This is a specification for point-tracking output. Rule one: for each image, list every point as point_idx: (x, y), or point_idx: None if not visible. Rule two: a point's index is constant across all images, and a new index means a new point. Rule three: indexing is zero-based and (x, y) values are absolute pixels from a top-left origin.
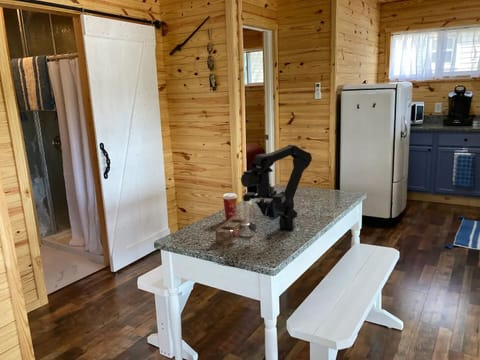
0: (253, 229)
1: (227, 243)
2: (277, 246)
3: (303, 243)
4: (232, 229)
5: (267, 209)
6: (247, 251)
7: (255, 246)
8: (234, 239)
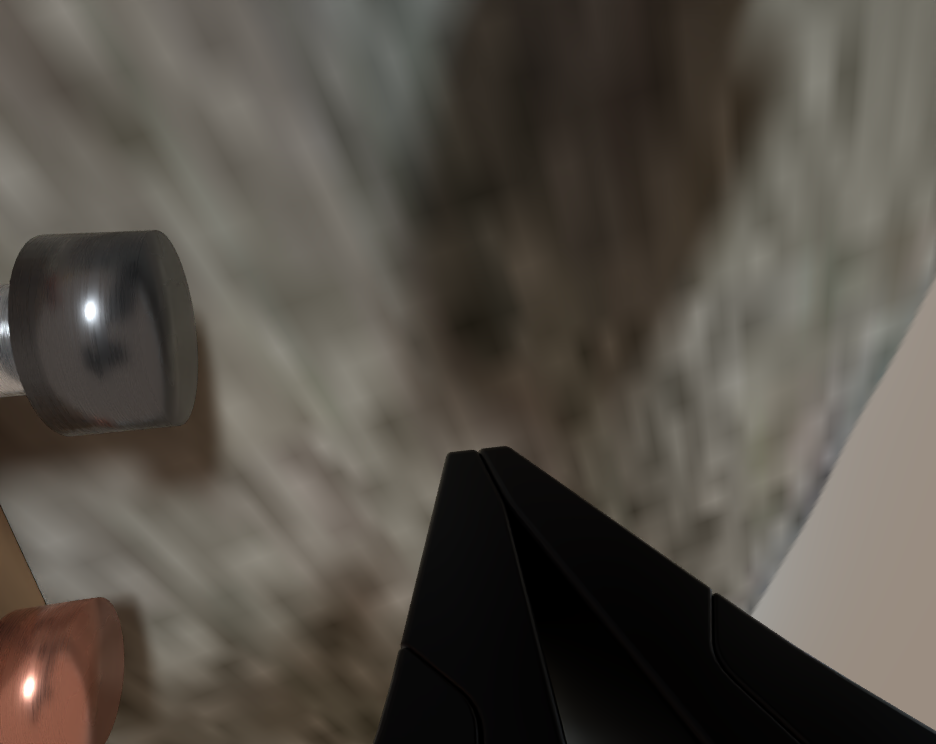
0: (194, 394)
1: None
2: (641, 491)
3: (910, 323)
4: None
5: (665, 574)
6: (384, 683)
7: (410, 578)
8: (15, 547)
